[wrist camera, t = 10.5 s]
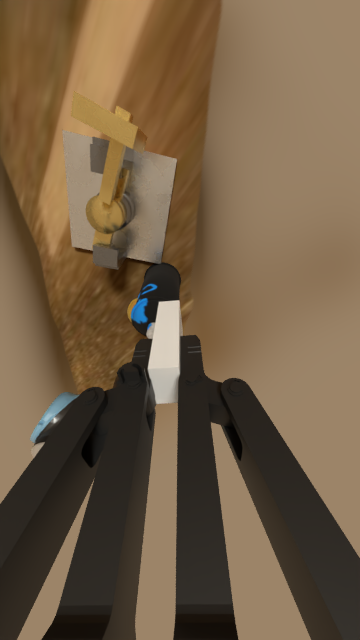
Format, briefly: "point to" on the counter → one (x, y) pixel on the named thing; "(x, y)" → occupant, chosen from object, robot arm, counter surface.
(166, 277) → the aerosol can
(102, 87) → the counter surface
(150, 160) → the socket base
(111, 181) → the gold branched bar piece
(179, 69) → the counter surface
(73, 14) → the counter surface
